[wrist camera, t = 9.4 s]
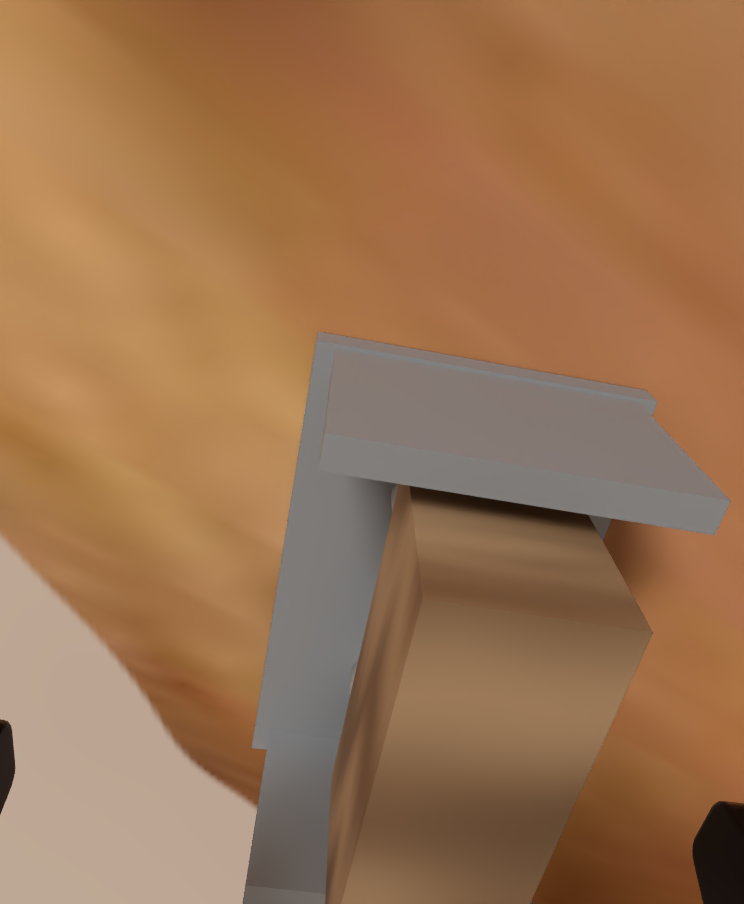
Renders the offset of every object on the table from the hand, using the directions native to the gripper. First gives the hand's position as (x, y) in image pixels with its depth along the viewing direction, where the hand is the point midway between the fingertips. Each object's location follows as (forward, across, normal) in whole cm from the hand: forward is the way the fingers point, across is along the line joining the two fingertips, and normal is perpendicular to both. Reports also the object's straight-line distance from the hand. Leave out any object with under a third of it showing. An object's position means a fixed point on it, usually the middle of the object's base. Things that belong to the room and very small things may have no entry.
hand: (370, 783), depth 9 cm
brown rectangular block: (+9, -3, +5) cm, 10 cm away
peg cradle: (+12, -3, +5) cm, 13 cm away
